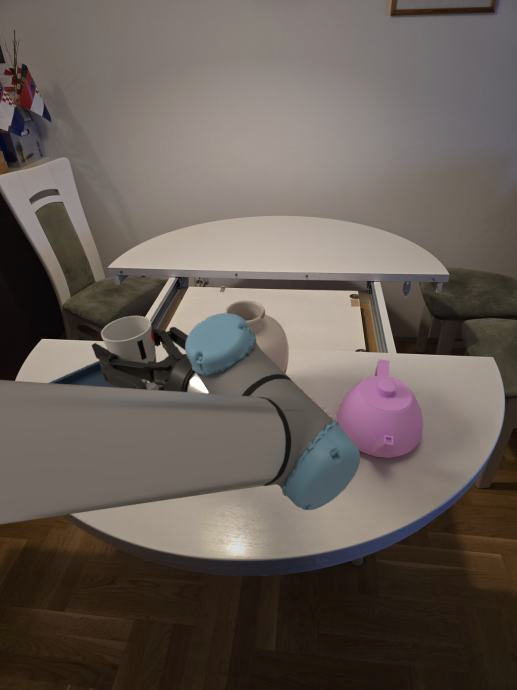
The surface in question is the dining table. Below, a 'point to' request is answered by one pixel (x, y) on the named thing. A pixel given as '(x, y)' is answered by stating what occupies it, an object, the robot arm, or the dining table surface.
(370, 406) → the teapot
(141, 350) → the cup
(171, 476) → the robot arm
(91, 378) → the tray
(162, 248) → the dining table surface
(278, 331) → the vase
